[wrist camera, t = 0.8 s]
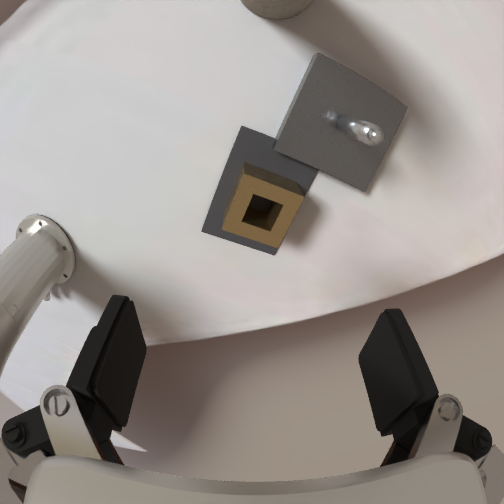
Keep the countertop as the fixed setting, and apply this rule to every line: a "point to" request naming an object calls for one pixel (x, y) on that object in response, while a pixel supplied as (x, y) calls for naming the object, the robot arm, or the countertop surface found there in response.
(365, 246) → the countertop surface
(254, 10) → the thermos bottle
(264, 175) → the collar
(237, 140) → the mat
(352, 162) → the grey peg stand
